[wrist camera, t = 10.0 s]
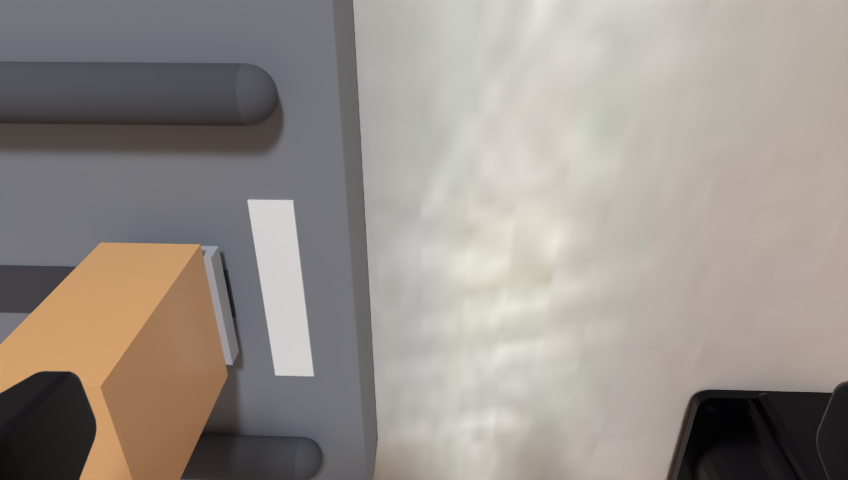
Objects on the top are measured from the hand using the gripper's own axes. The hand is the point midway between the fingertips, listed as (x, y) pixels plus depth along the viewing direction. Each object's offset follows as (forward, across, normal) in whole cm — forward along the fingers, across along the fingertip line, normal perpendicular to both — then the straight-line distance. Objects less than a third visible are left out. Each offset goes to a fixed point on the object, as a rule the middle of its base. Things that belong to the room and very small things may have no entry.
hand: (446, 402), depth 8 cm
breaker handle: (+9, +8, +5) cm, 13 cm away
